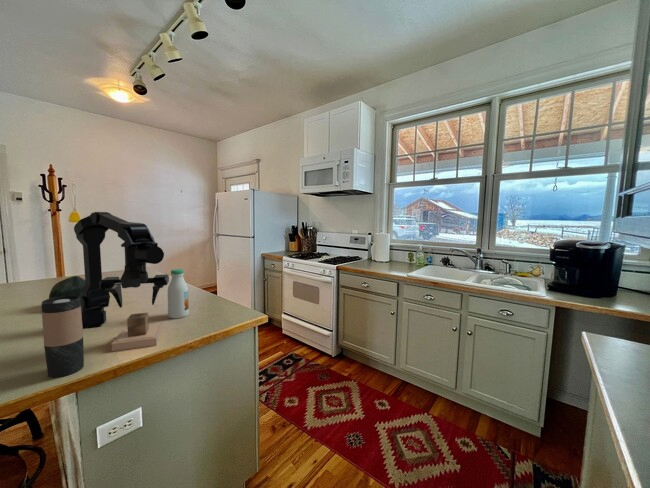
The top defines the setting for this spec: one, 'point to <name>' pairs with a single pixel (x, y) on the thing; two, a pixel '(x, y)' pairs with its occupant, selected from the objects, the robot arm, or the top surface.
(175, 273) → the milk bottle
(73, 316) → the travel mug
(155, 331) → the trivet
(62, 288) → the squash
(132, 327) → the walnut block
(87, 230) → the robot arm
